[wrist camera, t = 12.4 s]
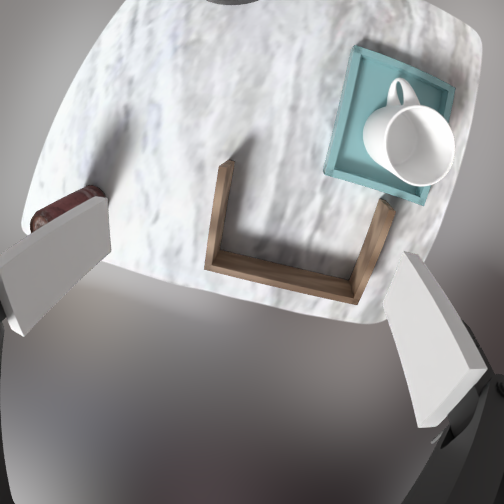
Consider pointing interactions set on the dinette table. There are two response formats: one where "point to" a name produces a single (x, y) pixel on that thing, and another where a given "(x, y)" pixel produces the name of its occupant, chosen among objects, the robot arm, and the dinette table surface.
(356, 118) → the tray
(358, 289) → the bay
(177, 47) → the dinette table surface
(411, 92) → the mug
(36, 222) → the can
